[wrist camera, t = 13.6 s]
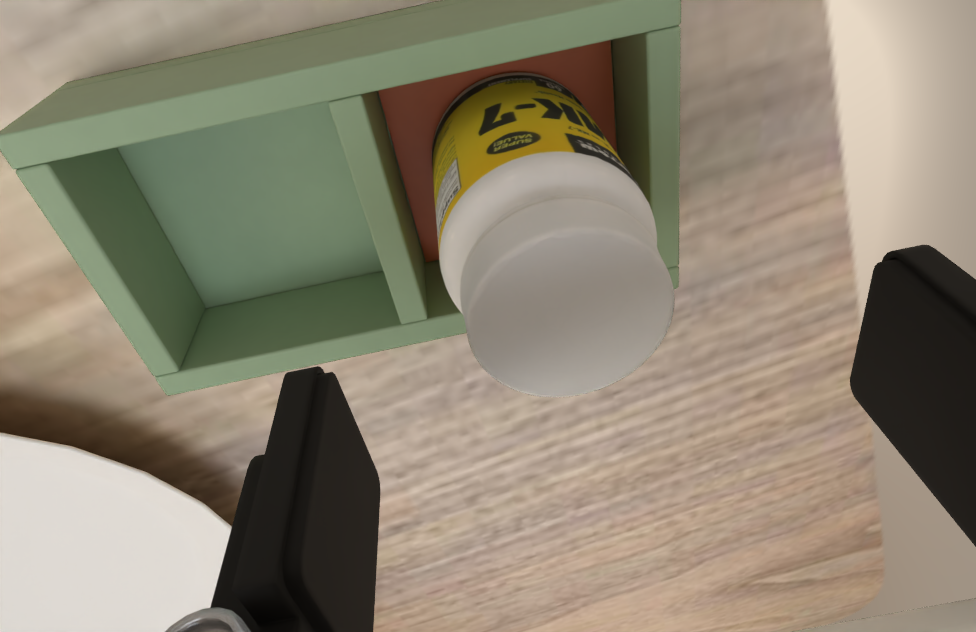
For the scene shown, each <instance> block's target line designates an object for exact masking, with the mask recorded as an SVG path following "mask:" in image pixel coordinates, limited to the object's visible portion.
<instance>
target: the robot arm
mask: <svg viewBox="0 0 976 632" xmlns="http://www.w3.org/2000/svg"><path fill="white" fill-rule="evenodd" d="M850 386H851V390H852V393H853V395H854V397H855V398H856V400H857V401H858V402H859V404H860V405H861V406H862V407H863V409H864V410H865V411H866V412H867V413H868V415H869V416H870V417H871V418H872V420H873V421H874V422H875V423H876V424H877V426H878V427H879V428H880V429H881V431H882V432H883V433H884V434H885V436H886V437H887V438H888V439H889V441H890V442H891V443H892V444H893V445H894V446H895V448H896V449H897V450H898V452H899V453H900V454H901V455H902V457H903V458H904V459H905V460H906V461H907V462H908V464H909V465H910V466H911V468H912V469H913V470H914V471H915V472H916V474H917V475H918V476H919V477H920V479H921V480H922V481H923V482H924V483H925V485H926V486H927V487H928V489H929V490H930V491H931V492H932V493H933V495H934V496H935V497H936V498H937V499H938V501H939V502H940V503H941V505H942V506H943V507H944V508H945V509H946V511H947V512H948V513H949V514H950V516H951V517H952V518H953V519H954V520H955V522H956V523H957V524H958V525H959V527H960V528H961V529H962V530H963V531H964V533H965V534H966V535H967V536H968V538H969V539H970V540H971V541H972V543H973V544H974V545H975V546H976V279H974V278H973V277H971V276H970V275H969V274H968V273H966V272H965V271H964V270H962V269H961V268H960V267H958V266H957V265H956V264H954V263H953V262H952V261H950V260H949V259H948V258H947V257H945V256H944V255H943V254H941V253H940V252H938V251H937V250H936V249H934V248H933V247H931V246H929V245H920V246H915V247H910V248H905V249H900V250H895V251H891V252H889V253H887V254H886V255H885V256H884V258H883V260H882V262H880V263H877V265H876V266H875V268H874V270H873V275H872V279H871V284H870V289H869V293H868V298H867V303H866V307H865V312H864V317H863V321H862V326H861V331H860V335H859V340H858V344H857V349H856V354H855V358H854V363H853V368H852V372H851V377H850ZM379 507H380V482H379V477H378V473H377V470H376V468H375V466H374V463H373V461H372V459H371V456H370V454H369V452H368V449H367V447H366V445H365V442H364V440H363V438H362V435H361V433H360V431H359V428H358V426H357V424H356V421H355V419H354V417H353V415H352V412H351V410H350V408H349V405H348V403H347V401H346V398H345V396H344V394H343V391H342V389H341V387H340V384H339V382H338V380H337V377H336V376H335V374H334V373H333V372H330V373H324V371H323V369H322V368H321V367H318V366H317V367H312V368H308V369H303V370H298V371H293V372H288V373H286V374H285V377H284V379H283V383H282V387H281V391H280V395H279V399H278V403H277V408H276V412H275V416H274V420H273V424H272V428H271V432H270V436H269V440H268V444H267V448H266V452H265V454H264V455H259V456H255V457H254V458H253V459H252V460H251V462H250V464H249V467H248V469H247V473H246V477H245V480H244V484H243V488H242V492H241V495H240V499H239V503H238V506H237V510H236V514H235V518H234V521H233V525H232V529H231V532H230V536H229V540H228V544H227V547H226V551H225V555H224V558H223V562H222V566H221V570H220V573H219V577H218V581H217V584H216V588H215V592H214V595H213V599H212V603H211V607H210V608H205V609H201V610H199V611H196V612H194V613H191V614H189V615H186V616H185V617H183V618H182V619H180V620H179V621H177V622H176V623H174V624H173V625H171V626H170V627H169V628H168V629H167V630H166V631H165V632H373V623H374V604H375V585H376V565H377V546H378V526H379ZM792 632H976V598H974V599H969V600H963V601H958V602H952V603H946V604H940V605H935V606H929V607H924V608H918V609H913V610H907V611H901V612H896V613H891V614H885V615H879V616H874V617H869V618H863V619H858V620H852V621H846V622H841V623H835V624H830V625H825V626H819V627H814V628H808V629H803V630H797V631H792Z"/></svg>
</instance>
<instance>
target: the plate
mask: <svg viewBox="0 0 976 632" xmlns="http://www.w3.org/2000/svg"><path fill="white" fill-rule="evenodd" d="M231 529H232V526H231V525H229V524H228V523H227V522H226V521H225V520H223V519H222V518H221V517H220V516H219V515H217V514H216V513H215V512H214V511H213V510H211V509H210V508H209V507H208V506H207V505H205V504H204V503H203V502H201V501H199V500H197V499H195V498H193V497H192V496H190V495H188V494H186V493H184V492H182V491H180V490H179V489H177V488H175V487H173V486H171V485H169V484H168V483H166V482H164V481H162V480H160V479H158V478H156V477H155V476H153V475H151V474H149V473H147V472H145V471H142V470H139V469H136V468H133V467H131V466H128V465H125V464H122V463H119V462H116V461H113V460H110V459H108V458H105V457H102V456H99V455H96V454H93V453H90V452H87V451H85V450H82V449H79V448H76V447H73V446H68V445H63V444H58V443H53V442H47V441H42V440H37V439H32V438H27V437H21V436H16V435H11V434H6V433H0V632H165V631H166V630H167V629H168V628H169V627H170V626H171V625H173V624H174V623H176V622H177V621H179V620H180V619H182V618H183V617H185V616H186V615H189V614H191V613H194V612H196V611H199V610H201V609H205V608H210V607H211V603H212V599H213V595H214V592H215V588H216V584H217V581H218V577H219V573H220V570H221V566H222V562H223V558H224V555H225V551H226V547H227V544H228V540H229V536H230V532H231Z"/></svg>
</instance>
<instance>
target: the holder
mask: <svg viewBox="0 0 976 632" xmlns="http://www.w3.org/2000/svg"><path fill="white" fill-rule="evenodd" d="M680 23H681V0H441V1H437V2H432V3H427V4H423V5H418V6H414V7H409V8H405V9H400V10H395V11H391V12H386V13H382V14H377V15H373V16H368V17H364V18H359V19H354V20H350V21H345V22H341V23H336V24H332V25H327V26H323V27H318V28H313V29H309V30H304V31H300V32H295V33H291V34H286V35H282V36H277V37H272V38H268V39H263V40H259V41H254V42H250V43H245V44H240V45H236V46H231V47H227V48H222V49H218V50H213V51H209V52H204V53H199V54H195V55H190V56H186V57H181V58H177V59H172V60H168V61H163V62H158V63H154V64H149V65H145V66H140V67H136V68H131V69H126V70H122V71H117V72H113V73H108V74H104V75H99V76H95V77H90V78H85V79H81V80H76V81H72V82H67V83H65V84H64V85H63V86H61V87H60V88H59V89H57V90H56V91H55V92H53V93H52V94H51V95H49V96H48V97H46V98H45V99H44V100H42V101H41V102H40V103H38V104H37V105H35V106H34V107H33V108H31V109H30V110H29V111H27V112H26V113H25V114H23V115H22V116H20V117H19V118H18V119H16V120H15V121H14V122H12V123H11V124H9V125H8V126H7V127H5V128H4V129H3V130H1V131H0V151H1V152H2V154H3V155H4V157H5V158H6V160H7V161H8V163H9V164H10V166H11V167H12V168H13V169H17V170H16V174H17V175H18V177H19V178H20V180H21V181H22V183H23V184H24V186H25V187H26V189H27V190H28V191H29V193H30V194H31V196H32V197H33V199H34V200H35V202H36V203H37V205H38V206H39V208H40V209H41V211H42V212H43V214H44V215H45V217H46V218H47V220H48V221H49V223H50V224H51V225H52V227H53V228H54V230H55V231H56V233H57V234H58V236H59V237H60V239H61V240H62V242H63V243H64V245H65V246H66V248H67V249H68V251H69V252H70V254H71V255H72V257H73V258H74V259H75V261H76V262H77V264H78V265H79V267H80V268H81V270H82V271H83V273H84V274H85V276H86V277H87V279H88V280H89V282H90V283H91V285H92V286H93V288H94V289H95V291H96V292H97V293H98V295H99V296H100V298H101V299H102V301H103V302H104V304H105V305H106V307H107V308H108V310H109V311H110V313H111V314H112V316H113V317H114V319H115V320H116V322H117V323H118V324H119V326H120V327H121V329H122V330H123V332H124V333H125V335H126V336H127V338H128V339H129V341H130V342H131V344H132V345H133V347H134V348H135V350H136V351H137V353H138V354H139V356H140V357H141V358H142V360H143V361H144V363H145V364H146V366H147V367H148V369H149V370H150V372H151V373H152V375H153V376H155V378H156V380H157V382H158V383H159V385H160V386H161V388H162V389H163V391H164V392H165V394H166V395H168V396H170V395H174V394H179V393H184V392H189V391H193V390H198V389H203V388H208V387H212V386H217V385H222V384H227V383H231V382H236V381H241V380H246V379H250V378H255V377H260V376H265V375H269V374H274V373H279V372H284V371H288V370H293V369H298V368H303V367H307V366H312V365H317V364H322V363H326V362H331V361H336V360H341V359H345V358H350V357H355V356H359V355H364V354H369V353H374V352H378V351H383V350H388V349H393V348H397V347H402V346H407V345H412V344H416V343H421V342H426V341H431V340H435V339H440V338H445V337H450V336H454V335H459V334H464V333H467V331H466V325H465V320H464V316H463V314H462V313H461V312H460V311H459V309H458V308H457V307H456V305H455V304H454V302H453V301H452V299H451V297H450V295H449V293H448V291H447V289H446V286H445V283H444V280H443V277H442V273H441V268H440V261H439V250H438V237H437V223H436V210H435V198H434V184H433V168H432V146H433V140H434V136H435V132H436V129H437V126H438V124H439V122H440V120H441V118H442V116H443V114H444V113H445V111H446V110H447V108H448V107H449V106H450V104H451V103H452V102H453V101H454V100H455V99H456V98H457V96H459V95H460V94H461V93H462V92H463V91H464V90H466V89H467V88H468V87H470V86H471V85H473V84H475V83H476V82H478V81H481V80H483V79H485V78H488V77H491V76H495V75H499V74H504V73H514V72H523V73H533V74H538V75H542V76H545V77H548V78H550V79H552V80H554V81H556V82H558V83H560V84H562V85H563V86H564V87H566V88H567V89H568V90H570V91H571V92H572V93H573V94H574V95H575V96H576V97H577V98H578V100H579V101H580V102H581V103H582V104H583V106H584V107H585V108H586V110H587V111H588V113H589V114H590V116H591V117H592V119H593V120H594V122H595V123H596V125H597V126H598V127H599V129H600V130H601V132H602V133H603V134H604V136H605V137H606V138H607V140H608V141H609V143H610V144H611V146H612V147H613V149H614V150H615V152H616V153H617V154H618V156H619V158H620V160H621V161H622V162H623V163H624V165H625V166H626V168H627V169H628V171H629V172H630V174H631V176H632V177H633V179H634V180H635V181H636V182H637V183H638V185H639V187H640V189H641V190H642V192H643V194H644V196H645V197H646V199H647V201H648V203H649V205H650V208H651V210H652V213H653V217H654V220H655V225H656V231H657V248H658V251H659V254H660V256H661V258H662V260H663V261H664V263H665V265H666V267H667V269H668V272H669V274H670V277H671V280H672V284H673V288H674V289H677V288H678V286H679V267H678V265H679V166H680V26H679V24H680Z"/></svg>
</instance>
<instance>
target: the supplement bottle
mask: <svg viewBox="0 0 976 632" xmlns="http://www.w3.org/2000/svg"><path fill="white" fill-rule="evenodd" d="M432 168H433V184H434V198H435V210H436V223H437V237H438V250H439V261H440V268H441V273H442V277H443V280H444V283H445V286H446V289H447V291H448V293H449V295H450V297H451V299H452V301H453V302H454V304H455V305H456V307H457V308H458V309H459V311H460V312H461V313H462V314H463V316H464V320H465V325H466V331H467V336H468V340H469V344H470V346H471V349H472V351H473V353H474V355H475V357H476V359H477V361H478V362H479V363H480V365H481V366H482V367H483V369H484V370H485V371H486V372H488V373H489V374H490V375H491V376H492V377H493V378H494V379H496V380H497V381H498V382H500V383H502V384H503V385H505V386H507V387H509V388H511V389H513V390H516V391H519V392H522V393H525V394H528V395H534V396H540V397H570V396H577V395H582V394H586V393H590V392H593V391H597V390H600V389H602V388H605V387H607V386H609V385H611V384H613V383H615V382H617V381H619V380H621V379H623V378H625V377H626V376H628V375H629V374H631V373H632V372H633V371H635V370H636V369H637V368H639V367H640V366H641V365H642V364H643V363H644V362H645V361H646V360H647V359H648V358H649V357H650V356H651V355H652V354H653V353H654V351H655V350H656V349H657V348H658V346H659V345H660V343H661V342H662V340H663V338H664V337H665V335H666V333H667V330H668V328H669V326H670V323H671V320H672V315H673V311H674V288H673V284H672V280H671V277H670V274H669V272H668V269H667V267H666V265H665V263H664V261H663V260H662V258H661V256H660V254H659V251H658V248H657V231H656V225H655V220H654V217H653V213H652V210H651V208H650V205H649V203H648V201H647V199H646V197H645V196H644V194H643V192H642V190H641V189H640V187H639V185H638V183H637V182H636V181H635V180H634V179H633V177H632V176H631V174H630V172H629V171H628V169H627V168H626V166H625V165H624V163H623V162H622V161H621V160H620V158H619V156H618V154H617V153H616V152H615V150H614V149H613V147H612V146H611V144H610V143H609V141H608V140H607V138H606V137H605V136H604V134H603V133H602V132H601V130H600V129H599V127H598V126H597V125H596V123H595V122H594V120H593V119H592V117H591V116H590V114H589V113H588V111H587V110H586V108H585V107H584V106H583V104H582V103H581V102H580V101H579V100H578V98H577V97H576V96H575V95H574V94H573V93H572V92H571V91H570V90H568V89H567V88H566V87H564V86H563V85H562V84H560V83H558V82H556V81H554V80H552V79H550V78H548V77H545V76H542V75H538V74H533V73H523V72H514V73H504V74H499V75H495V76H491V77H488V78H485V79H483V80H481V81H478V82H476V83H475V84H473V85H471V86H470V87H468V88H467V89H466V90H464V91H463V92H462V93H461V94H460V95H459V96H457V98H456V99H455V100H454V101H453V102H452V103H451V104H450V106H449V107H448V108H447V110H446V111H445V113H444V114H443V116H442V118H441V120H440V122H439V124H438V126H437V129H436V132H435V136H434V140H433V146H432Z"/></svg>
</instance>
